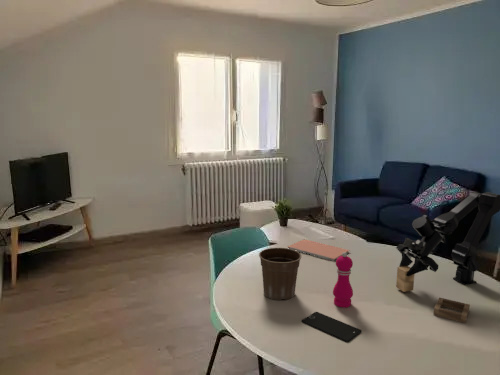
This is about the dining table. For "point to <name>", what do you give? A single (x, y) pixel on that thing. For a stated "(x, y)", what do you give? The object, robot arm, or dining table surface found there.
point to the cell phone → (332, 326)
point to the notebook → (318, 249)
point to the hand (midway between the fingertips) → (402, 273)
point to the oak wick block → (404, 279)
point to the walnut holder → (451, 314)
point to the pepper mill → (343, 281)
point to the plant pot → (279, 272)
